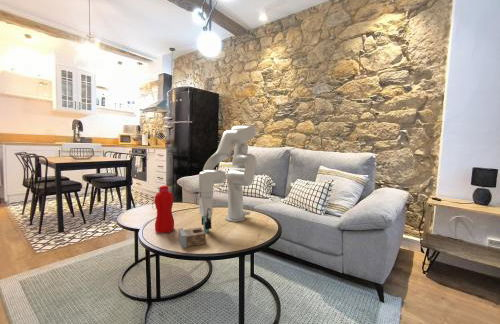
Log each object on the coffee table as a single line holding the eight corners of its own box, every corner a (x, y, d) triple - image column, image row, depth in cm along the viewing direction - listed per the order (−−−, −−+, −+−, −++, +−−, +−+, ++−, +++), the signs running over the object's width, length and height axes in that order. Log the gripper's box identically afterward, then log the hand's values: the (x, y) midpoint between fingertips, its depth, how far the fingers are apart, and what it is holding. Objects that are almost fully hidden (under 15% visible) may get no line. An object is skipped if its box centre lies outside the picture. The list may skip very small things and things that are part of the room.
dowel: (208, 230, 129) (208, 213, 129) (209, 232, 127) (209, 214, 126) (202, 231, 128) (202, 213, 127) (204, 233, 125) (204, 215, 125)
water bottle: (155, 227, 133) (154, 184, 131) (175, 227, 134) (174, 184, 132) (150, 234, 124) (148, 187, 122) (171, 233, 125) (170, 187, 123)
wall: (182, 239, 117) (182, 228, 117) (186, 247, 108) (186, 235, 108) (178, 240, 116) (178, 228, 116) (182, 248, 107) (182, 236, 107)
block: (201, 236, 121) (201, 227, 120) (205, 243, 113) (205, 233, 112) (183, 239, 117) (183, 229, 116) (186, 246, 109) (186, 236, 108)
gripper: (195, 191, 132) (195, 222, 133) (203, 198, 116) (203, 233, 118) (208, 190, 135) (208, 220, 137) (217, 197, 120) (217, 231, 121)
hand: (206, 226), depth 127 cm, fingers open, 6 cm apart
